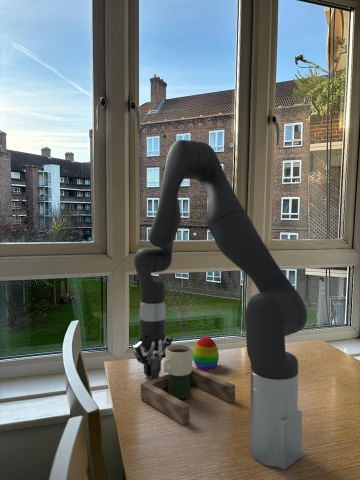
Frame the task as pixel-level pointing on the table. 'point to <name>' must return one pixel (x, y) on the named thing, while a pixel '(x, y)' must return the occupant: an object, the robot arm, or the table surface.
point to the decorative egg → (205, 354)
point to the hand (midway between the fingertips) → (152, 374)
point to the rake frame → (173, 407)
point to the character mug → (178, 369)
